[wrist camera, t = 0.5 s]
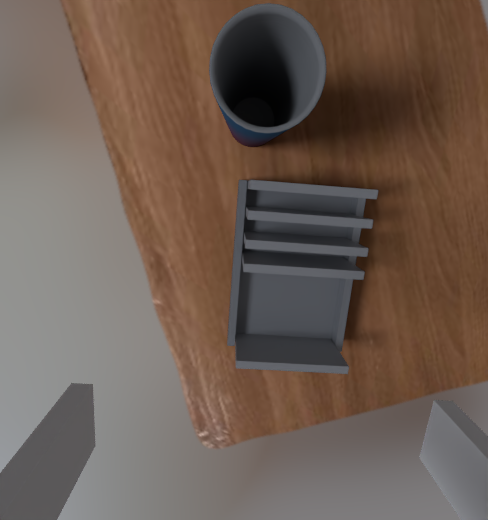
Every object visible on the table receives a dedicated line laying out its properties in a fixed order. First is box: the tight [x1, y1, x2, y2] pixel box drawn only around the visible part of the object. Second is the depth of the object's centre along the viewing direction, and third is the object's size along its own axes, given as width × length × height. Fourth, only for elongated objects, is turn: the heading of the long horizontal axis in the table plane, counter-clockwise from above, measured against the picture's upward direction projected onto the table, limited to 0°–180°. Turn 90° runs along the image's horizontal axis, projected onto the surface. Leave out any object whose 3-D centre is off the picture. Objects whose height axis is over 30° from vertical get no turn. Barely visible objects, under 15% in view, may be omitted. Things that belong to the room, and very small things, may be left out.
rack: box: [227, 180, 378, 374], centre depth 33 cm, size 18×13×7 cm
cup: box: [209, 3, 326, 147], centre depth 26 cm, size 7×7×15 cm
